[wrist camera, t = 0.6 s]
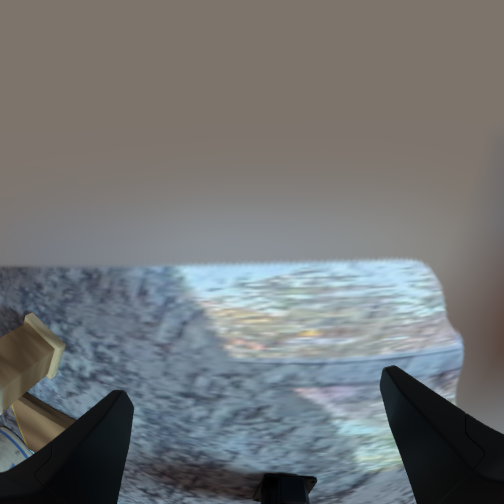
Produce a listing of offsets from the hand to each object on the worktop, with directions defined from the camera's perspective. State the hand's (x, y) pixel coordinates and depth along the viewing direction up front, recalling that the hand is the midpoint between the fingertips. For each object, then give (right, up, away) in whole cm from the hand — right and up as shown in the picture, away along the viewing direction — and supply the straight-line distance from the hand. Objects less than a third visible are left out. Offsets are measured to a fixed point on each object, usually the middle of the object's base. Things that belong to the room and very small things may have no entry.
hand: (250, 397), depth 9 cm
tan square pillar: (-23, -6, +16) cm, 29 cm away
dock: (-27, -21, +18) cm, 39 cm away
